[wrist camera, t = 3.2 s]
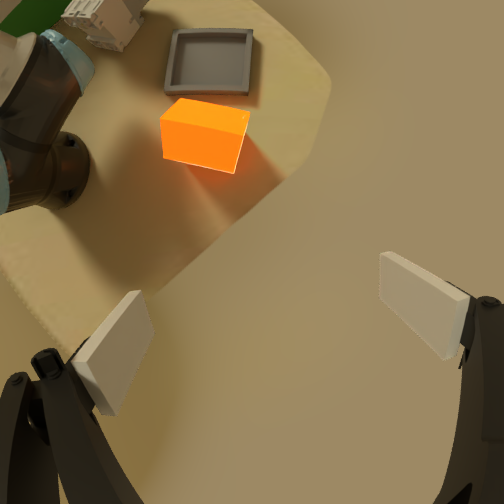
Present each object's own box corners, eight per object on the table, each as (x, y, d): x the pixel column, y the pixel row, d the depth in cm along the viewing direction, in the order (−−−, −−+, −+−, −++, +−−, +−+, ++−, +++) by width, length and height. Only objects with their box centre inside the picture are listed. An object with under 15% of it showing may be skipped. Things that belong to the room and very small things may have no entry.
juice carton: (233, 174, 45) (233, 173, 26) (183, 163, 44) (148, 155, 25) (245, 131, 43) (254, 99, 24) (195, 119, 42) (169, 83, 23)
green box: (26, 51, 32) (-35, 25, 9) (21, 38, 30) (-35, 12, 7) (81, 1, 30) (33, -46, 7) (74, -10, 28) (29, -53, 5)
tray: (166, 95, 40) (163, 91, 38) (175, 35, 37) (173, 29, 34) (247, 95, 41) (248, 91, 39) (252, 35, 38) (253, 29, 35)
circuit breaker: (161, 0, 34) (143, -42, 19) (122, 52, 37) (89, 19, 22) (132, -4, 32) (110, -42, 18) (95, 46, 35) (59, 17, 21)
